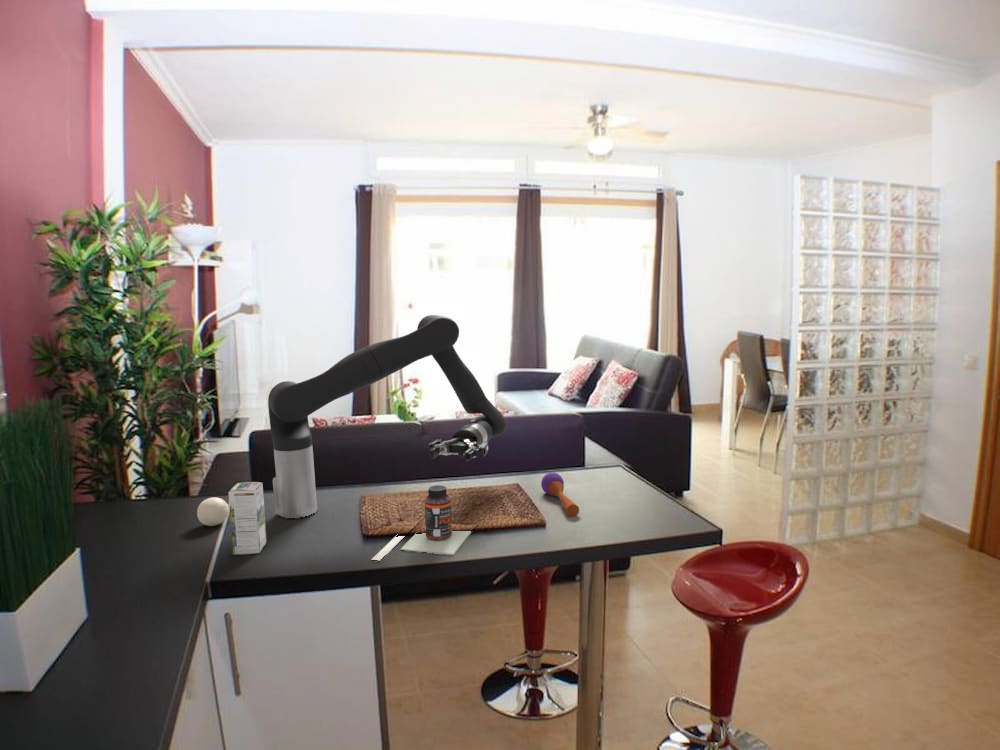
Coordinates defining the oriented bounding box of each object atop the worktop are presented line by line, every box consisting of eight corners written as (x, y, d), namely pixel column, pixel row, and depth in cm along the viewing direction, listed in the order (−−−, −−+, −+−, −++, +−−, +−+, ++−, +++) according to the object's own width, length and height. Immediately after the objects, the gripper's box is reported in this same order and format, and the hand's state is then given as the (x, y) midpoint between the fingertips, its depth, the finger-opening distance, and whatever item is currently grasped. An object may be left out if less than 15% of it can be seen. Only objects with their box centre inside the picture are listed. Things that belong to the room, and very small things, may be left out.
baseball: (236, 520, 162) (234, 494, 161) (215, 531, 155) (212, 504, 154) (214, 517, 164) (212, 492, 163) (192, 528, 157) (189, 501, 156)
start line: (371, 560, 137) (371, 559, 137) (412, 521, 158) (412, 520, 158) (380, 561, 136) (380, 560, 136) (420, 522, 157) (420, 521, 157)
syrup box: (241, 544, 147) (235, 482, 145) (268, 543, 147) (262, 480, 145) (232, 555, 141) (226, 490, 139) (261, 553, 142) (255, 489, 139)
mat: (400, 550, 141) (400, 548, 141) (427, 522, 157) (427, 521, 157) (453, 555, 138) (453, 553, 138) (475, 526, 153) (475, 525, 153)
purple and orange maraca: (558, 503, 157) (536, 472, 176) (563, 525, 158) (540, 492, 178) (582, 496, 158) (557, 466, 177) (586, 518, 159) (561, 486, 178)
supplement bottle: (442, 543, 144) (440, 493, 142) (420, 538, 146) (418, 490, 145) (457, 533, 149) (455, 485, 147) (435, 529, 152) (433, 482, 150)
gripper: (444, 424, 174) (420, 438, 158) (495, 427, 170) (477, 442, 154) (444, 451, 175) (421, 468, 159) (496, 455, 171) (477, 473, 155)
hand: (448, 455), depth 157 cm, fingers open, 8 cm apart
